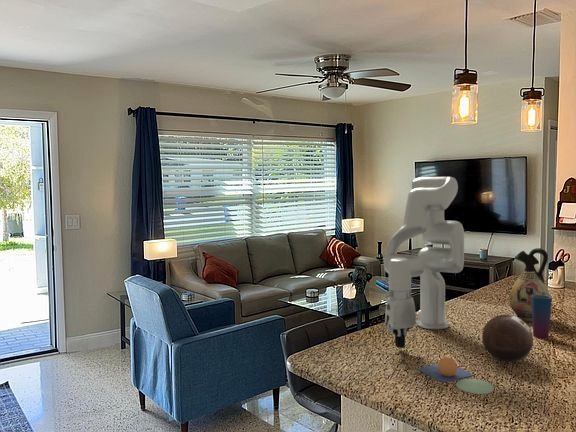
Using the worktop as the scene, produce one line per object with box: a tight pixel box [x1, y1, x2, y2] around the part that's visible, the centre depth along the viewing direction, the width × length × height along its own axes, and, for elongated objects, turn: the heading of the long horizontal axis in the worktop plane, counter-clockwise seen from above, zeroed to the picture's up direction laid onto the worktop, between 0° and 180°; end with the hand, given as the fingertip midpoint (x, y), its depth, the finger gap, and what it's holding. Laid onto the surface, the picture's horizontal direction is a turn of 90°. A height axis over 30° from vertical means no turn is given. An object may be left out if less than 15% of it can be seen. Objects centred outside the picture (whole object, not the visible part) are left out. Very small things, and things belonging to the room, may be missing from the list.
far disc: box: [455, 378, 495, 395], centre depth 144 cm, size 10×10×1 cm
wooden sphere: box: [481, 314, 534, 364], centre depth 162 cm, size 15×15×15 cm
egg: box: [437, 356, 459, 377], centre depth 152 cm, size 6×6×6 cm
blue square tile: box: [416, 363, 475, 384], centre depth 155 cm, size 12×12×1 cm
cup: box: [531, 294, 553, 339], centre depth 186 cm, size 7×7×15 cm
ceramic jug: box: [508, 247, 551, 323], centre depth 208 cm, size 17×15×30 cm
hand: (400, 346), depth 174 cm, fingers closed
